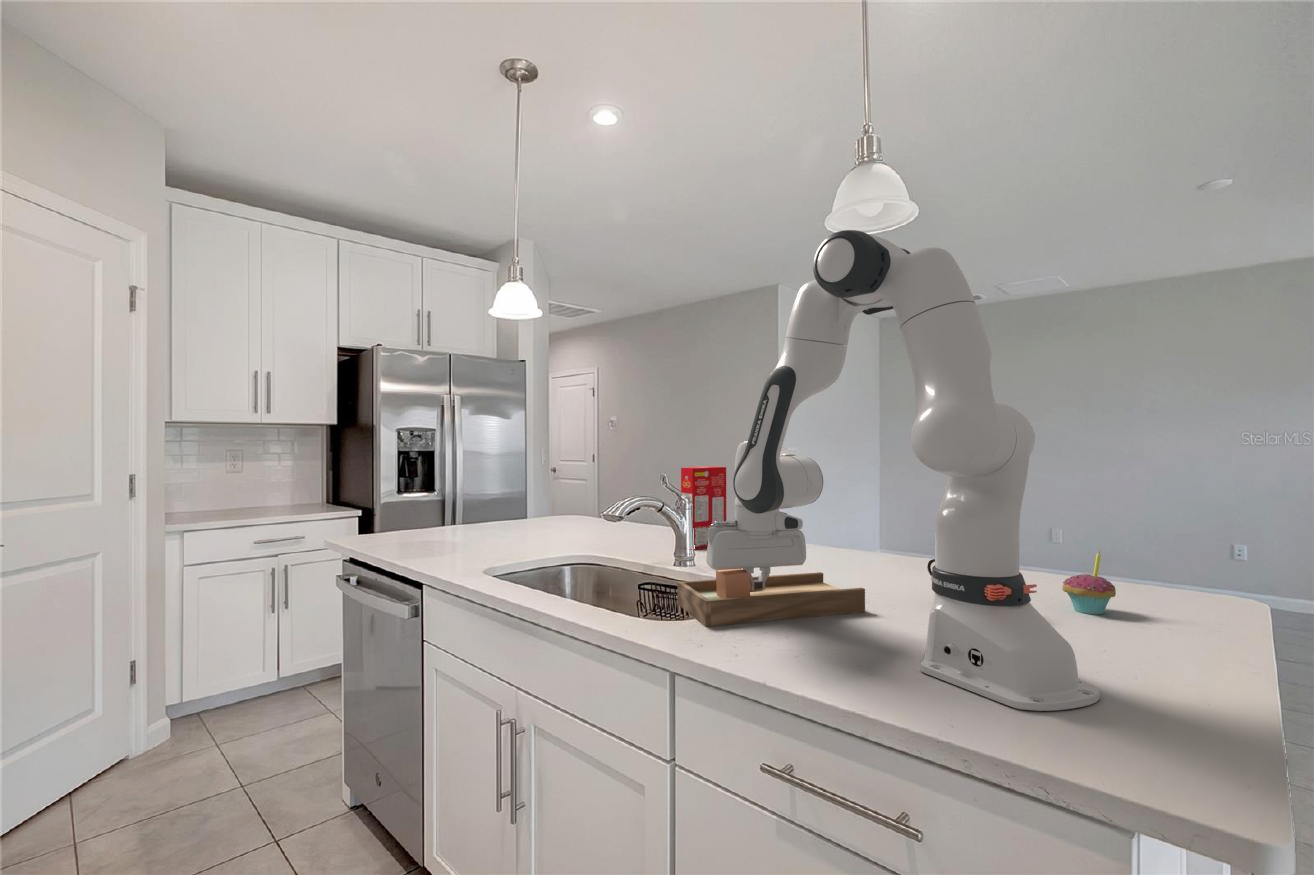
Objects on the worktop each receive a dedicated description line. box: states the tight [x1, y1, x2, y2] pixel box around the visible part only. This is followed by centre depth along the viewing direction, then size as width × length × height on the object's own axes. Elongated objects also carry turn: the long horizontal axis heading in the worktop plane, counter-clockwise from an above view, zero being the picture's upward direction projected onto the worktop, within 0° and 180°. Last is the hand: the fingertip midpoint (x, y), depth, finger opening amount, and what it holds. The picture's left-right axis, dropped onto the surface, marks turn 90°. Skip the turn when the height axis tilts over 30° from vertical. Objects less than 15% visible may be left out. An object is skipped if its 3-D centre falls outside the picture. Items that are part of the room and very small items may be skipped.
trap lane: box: [676, 571, 866, 627], centre depth 124 cm, size 16×33×4 cm, turn 106°
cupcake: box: [1061, 549, 1117, 616], centre depth 121 cm, size 9×8×12 cm
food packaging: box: [680, 466, 727, 551], centre depth 197 cm, size 15×5×25 cm, turn 130°
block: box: [715, 569, 750, 598], centre depth 122 cm, size 5×5×5 cm
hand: (756, 589), depth 123 cm, fingers closed
